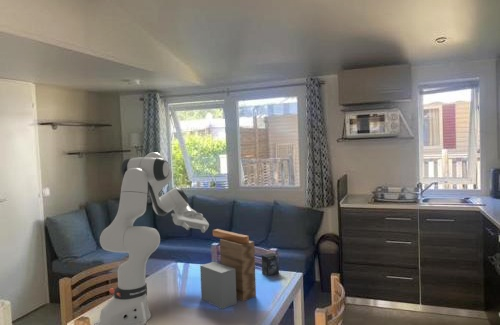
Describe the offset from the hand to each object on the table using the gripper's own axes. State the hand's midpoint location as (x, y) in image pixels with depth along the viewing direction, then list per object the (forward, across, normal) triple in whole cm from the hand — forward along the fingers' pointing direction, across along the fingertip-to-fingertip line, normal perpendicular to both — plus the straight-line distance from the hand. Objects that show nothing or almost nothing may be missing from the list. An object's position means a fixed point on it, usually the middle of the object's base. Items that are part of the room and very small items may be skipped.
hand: (196, 230), depth 201 cm
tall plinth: (+33, +16, +12) cm, 39 cm away
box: (+18, +46, +9) cm, 50 cm away
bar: (+18, +8, -8) cm, 21 cm away
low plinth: (+35, +4, +15) cm, 39 cm away
